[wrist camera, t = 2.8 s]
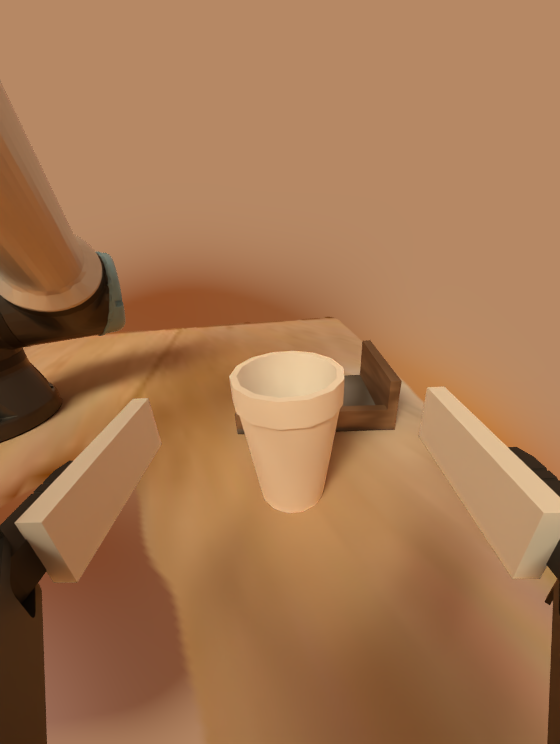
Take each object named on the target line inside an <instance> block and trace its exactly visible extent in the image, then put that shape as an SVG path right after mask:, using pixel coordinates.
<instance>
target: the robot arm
mask: <svg viewBox="0 0 560 744" xmlns="http://www.w3.org/2000/svg"><path fill="white" fill-rule="evenodd" d="M124 325H125V312H124V306H123V302H122V296H121V289H120V285H119V281H118V276H117V272H116V268H115V265H114V262H113V259H112V258H111V256H110V255H109V254H107V253H100V252H95V250H94V249H93V248H92V247H91V246H90V245H89V244H88V243H87V242H86V241H84V240H83V239H81V238H80V237H78V236H76V235H74V234H73V232H72V230H71V228H70V226H69V224H68V221H67V220H66V218H65V215H64V213H63V211H62V209H61V207H60V205H59V203H58V201H57V198H56V197H55V194H54V192H53V190H52V188H51V186H50V184H49V182H48V180H47V178H46V175H45V173H44V171H43V169H42V167H41V165H40V163H39V161H38V159H37V157H36V154H35V152H34V150H33V148H32V146H31V144H30V142H29V140H28V138H27V136H26V134H25V131H24V129H23V127H22V125H21V123H20V121H19V119H18V117H17V115H16V113H15V111H14V109H13V106H12V104H11V102H10V100H9V98H8V96H7V94H6V92H5V90H4V88H3V86H2V83H1V81H0V442H1V441H4V440H7V439H9V438H12V437H14V436H17V435H19V434H21V433H23V432H25V431H28V430H30V429H31V428H33V427H35V426H37V425H39V424H40V423H42V422H44V421H45V420H47V419H48V418H49V417H51V416H52V415H53V414H54V413H55V412H56V411H57V410H58V409H59V408H60V406H61V404H62V400H61V398H60V395H59V393H58V391H57V389H56V388H55V386H54V385H52V384H51V383H49V382H48V381H47V379H46V378H45V377H44V376H43V375H42V374H41V373H40V372H39V371H38V370H37V369H36V368H35V367H34V366H33V365H32V364H31V363H30V362H29V360H28V358H27V356H26V354H25V352H24V350H23V348H22V347H28V346H33V345H39V344H45V343H51V342H57V341H64V340H70V339H76V338H82V337H88V336H94V335H98V336H102V335H105V334H106V333H110V332H115V331H119V330H121V329H122V328H123V327H124ZM419 437H420V439H421V440H422V442H423V444H424V445H425V447H426V448H427V450H428V451H429V453H430V454H431V456H432V457H433V459H434V460H435V462H436V463H437V465H438V466H439V468H440V469H441V471H442V472H443V474H444V475H445V477H446V479H447V480H448V482H449V483H450V485H451V486H452V488H453V489H454V491H455V492H456V494H457V495H458V497H459V498H460V500H461V501H462V503H463V504H464V506H465V507H466V509H467V510H468V512H469V514H470V515H471V517H472V518H473V520H474V521H475V523H476V524H477V526H478V527H479V529H480V530H481V532H482V533H483V535H484V536H485V538H486V539H487V541H488V542H489V544H490V545H491V547H492V549H493V550H494V552H495V553H496V555H497V556H498V558H499V559H500V561H501V562H502V564H503V565H504V567H505V568H506V570H507V571H508V573H509V574H510V576H511V577H512V579H540V578H541V576H542V574H543V572H544V570H545V568H546V566H548V567H549V568H550V570H551V571H552V572H553V573H554V575H555V576H556V577H557V578H558V579H557V580H556V582H555V584H554V586H553V587H552V589H551V591H550V592H549V594H548V596H547V598H546V600H545V603H547V604H549V605H550V604H551V602H552V601H553V619H552V644H551V669H550V693H549V718H548V743H547V744H560V481H558V479H557V477H556V476H555V475H553V474H552V473H551V472H550V471H547V469H546V467H545V466H543V465H542V464H541V463H540V462H539V461H538V460H536V458H534V457H533V456H531V455H530V454H528V453H526V452H524V451H523V450H521V449H519V448H517V447H507V446H506V445H505V444H504V443H503V442H502V441H501V440H499V439H498V438H497V437H496V436H495V435H494V434H493V433H492V432H491V431H490V430H489V429H488V428H487V427H486V426H485V425H484V424H483V423H482V422H481V421H480V420H479V419H477V417H475V416H474V415H473V414H472V413H471V412H470V411H469V410H468V409H467V408H466V407H465V406H464V405H463V404H462V403H461V402H460V401H459V400H458V399H457V398H456V397H455V396H454V395H452V394H451V393H450V392H449V391H448V390H447V389H446V388H445V387H428V388H427V392H426V398H425V403H424V409H423V414H422V420H421V425H420V431H419ZM161 444H162V443H161V440H160V436H159V433H158V430H157V426H156V423H155V419H154V416H153V412H152V409H151V406H150V402H149V399H148V398H142V399H132V400H131V401H130V402H129V403H128V404H127V405H126V407H125V408H124V409H123V410H122V411H121V412H120V413H119V414H118V415H117V416H116V417H115V418H114V419H113V420H112V421H111V422H110V423H109V424H108V425H107V426H106V427H105V429H104V430H103V431H102V432H101V433H100V434H99V435H98V436H97V437H96V438H95V439H94V440H93V441H92V442H91V443H90V444H89V445H88V446H87V447H86V448H85V449H84V450H83V452H82V453H81V454H80V455H79V456H78V457H77V458H76V459H75V460H74V461H68V462H67V463H65V464H64V465H62V466H61V467H59V468H58V469H56V470H55V471H54V472H53V473H52V474H51V475H50V476H49V477H48V478H47V479H46V480H45V481H44V482H43V484H41V485H40V486H39V487H38V488H37V489H36V490H35V491H34V494H31V495H30V496H29V497H28V498H27V499H26V500H25V501H24V502H23V503H22V504H21V505H20V506H19V507H18V508H17V509H16V510H15V511H14V512H13V513H12V514H11V515H10V516H9V517H8V518H7V519H6V520H5V521H4V522H3V523H2V524H1V525H0V744H47V735H46V705H45V677H44V676H45V675H44V647H43V617H42V591H41V588H40V585H39V584H38V582H39V580H40V579H41V578H42V576H43V575H44V574H45V572H47V573H48V575H49V576H50V578H51V579H52V581H53V582H54V583H77V582H78V581H79V579H80V578H81V576H82V574H83V573H84V571H85V569H86V568H87V566H88V564H89V563H90V561H91V559H92V558H93V556H94V554H95V553H96V551H97V550H98V548H99V546H100V544H101V543H102V541H103V540H104V538H105V536H106V535H107V533H108V531H109V530H110V528H111V527H112V525H113V523H114V522H115V520H116V518H117V517H118V515H119V513H120V512H121V510H122V508H123V507H124V505H125V503H126V502H127V500H128V499H129V497H130V495H131V494H132V492H133V490H134V489H135V487H136V485H137V484H138V482H139V480H140V479H141V477H142V476H143V474H144V472H145V471H146V469H147V467H148V466H149V464H150V462H151V461H152V459H153V457H154V456H155V454H156V453H157V451H158V449H159V448H160V446H161Z"/></svg>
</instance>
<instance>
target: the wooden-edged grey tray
mask: <svg viewBox="0 0 560 744" xmlns="http://www.w3.org/2000/svg"><path fill="white" fill-rule="evenodd" d="M400 388H401V380H400V378H399V377H398V376H397V375H396V373H395V372H394V371H393V369H392V368H391V367H390V366H389V364H388V363H387V362H386V360H385V359H384V358H383V357H382V355H381V354H380V353H379V351H378V350H377V349H376V347H375V346H374V345H373V344H372V342H371V341H363V343H362V356H361V369H360V375H348V376H344V398H343V406H342V407H341V408H340V411H339V416H338V421H337V426H336V431H361V430H394V429H395V422H396V415H397V408H398V401H399V394H400ZM235 419H236V426H237V432H238V434H245V433H244V430H243V426H242V423H241V420H240V416H239V415H237V413H235Z"/></svg>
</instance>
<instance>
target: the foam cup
mask: <svg viewBox="0 0 560 744" xmlns="http://www.w3.org/2000/svg"><path fill="white" fill-rule="evenodd" d="M229 379H230V386H231V393H232V400H233V404H234V407H235V410H236V413H237V415H239V416H240V420H241V423H242V426H243V430H244V433H245V437H246V440H247V443H248V447H249V450H250V454H251V457H252V460H253V464H254V467H255V471H256V474H257V477H258V481H259V484H260V487H261V491H262V494H263V497H264V500H265V501H266V502H267V503H268V504H269V505H270V506H271V507H273V508H274V509H276V510H279V511H282V512H286V513H296V512H304V511H306V510H307V509H309V508H311V507H313V506H315V505H316V504H317V502H318V501H319V499H320V498H321V496H322V494H323V490H324V485H325V480H326V475H327V470H328V466H329V461H330V456H331V451H332V446H333V441H334V436H335V431H336V426H337V421H338V416H339V411H340V408H341V407H342V406H343V398H344V370H343V367H342V366H341V365H340V364H338V363H337V362H336V361H335V360H333V359H332V358H329V357H326V356H323V355H320V354H316V353H312V352H301V351H283V352H271V353H267V354H263V355H259V356H256V357H252V358H250V359H248V360H246V361H244V362H243V363H241V364H239V365H237V366H236V367H235V369H234V370H233V372H232V373H231V375H230V376H229Z"/></svg>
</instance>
